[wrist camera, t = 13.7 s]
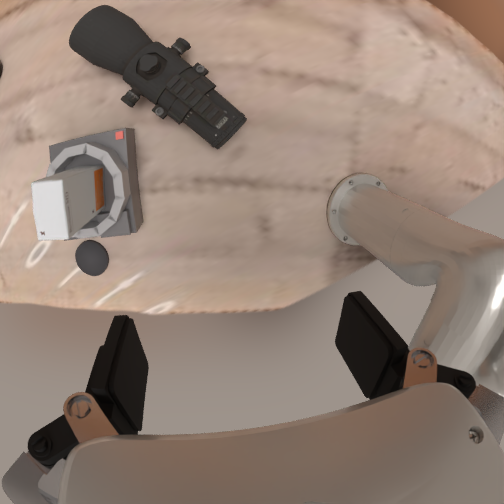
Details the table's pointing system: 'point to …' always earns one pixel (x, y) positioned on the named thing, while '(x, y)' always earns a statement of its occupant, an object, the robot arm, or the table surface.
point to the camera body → (105, 179)
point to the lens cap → (92, 258)
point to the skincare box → (67, 201)
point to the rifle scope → (156, 73)
